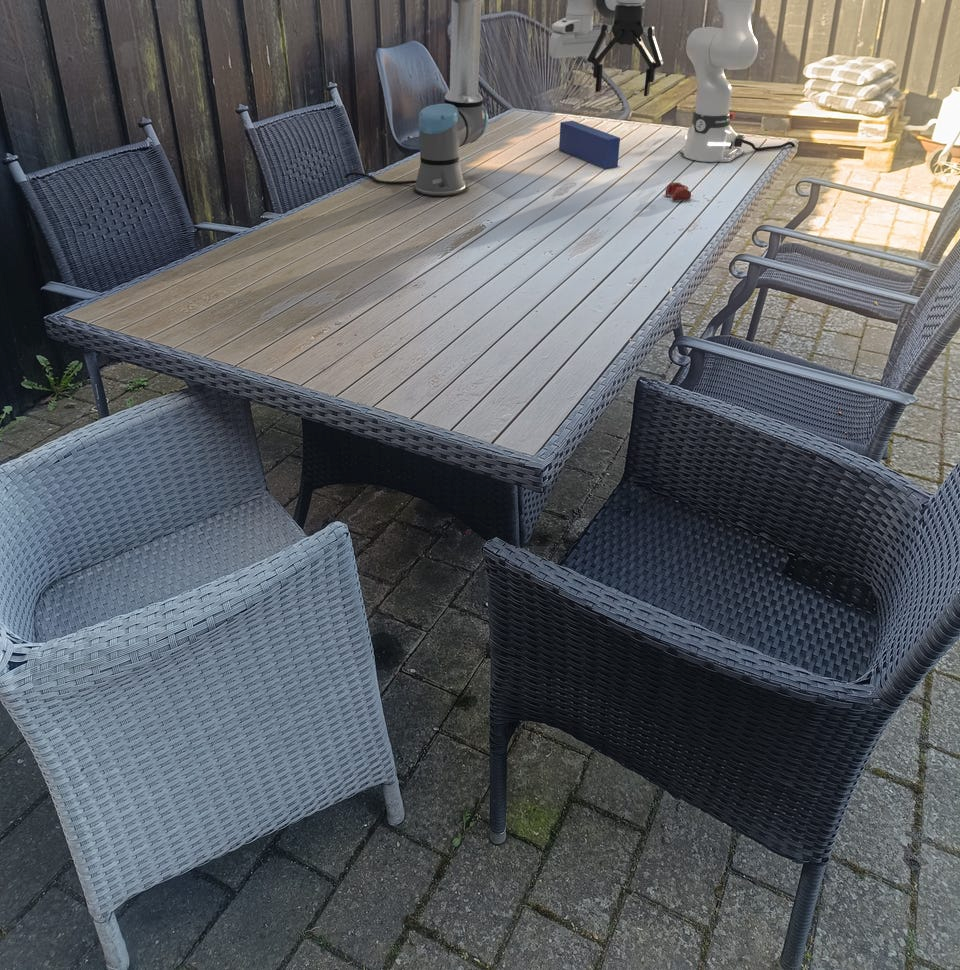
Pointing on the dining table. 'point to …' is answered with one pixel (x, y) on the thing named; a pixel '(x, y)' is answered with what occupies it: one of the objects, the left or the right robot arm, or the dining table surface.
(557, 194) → the dining table surface
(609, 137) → the bar
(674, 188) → the dental model
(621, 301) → the dining table surface
